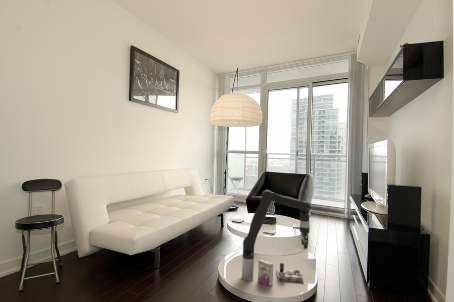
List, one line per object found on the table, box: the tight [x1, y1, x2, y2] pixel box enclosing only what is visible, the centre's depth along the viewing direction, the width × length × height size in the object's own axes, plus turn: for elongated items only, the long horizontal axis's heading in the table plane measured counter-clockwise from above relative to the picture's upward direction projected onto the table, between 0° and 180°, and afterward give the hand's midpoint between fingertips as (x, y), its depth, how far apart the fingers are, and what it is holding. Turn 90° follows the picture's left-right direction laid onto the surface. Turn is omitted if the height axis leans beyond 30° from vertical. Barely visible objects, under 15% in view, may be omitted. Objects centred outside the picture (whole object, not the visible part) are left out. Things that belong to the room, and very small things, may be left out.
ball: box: [287, 269, 294, 275], centre depth 201 cm, size 4×4×4 cm
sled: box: [277, 262, 286, 276], centre depth 199 cm, size 5×12×11 cm, turn 174°
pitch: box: [275, 268, 305, 284], centre depth 199 cm, size 20×16×4 cm
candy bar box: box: [257, 259, 274, 287], centre depth 187 cm, size 11×5×16 cm, turn 44°
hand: (304, 246), depth 191 cm, fingers open, 8 cm apart
